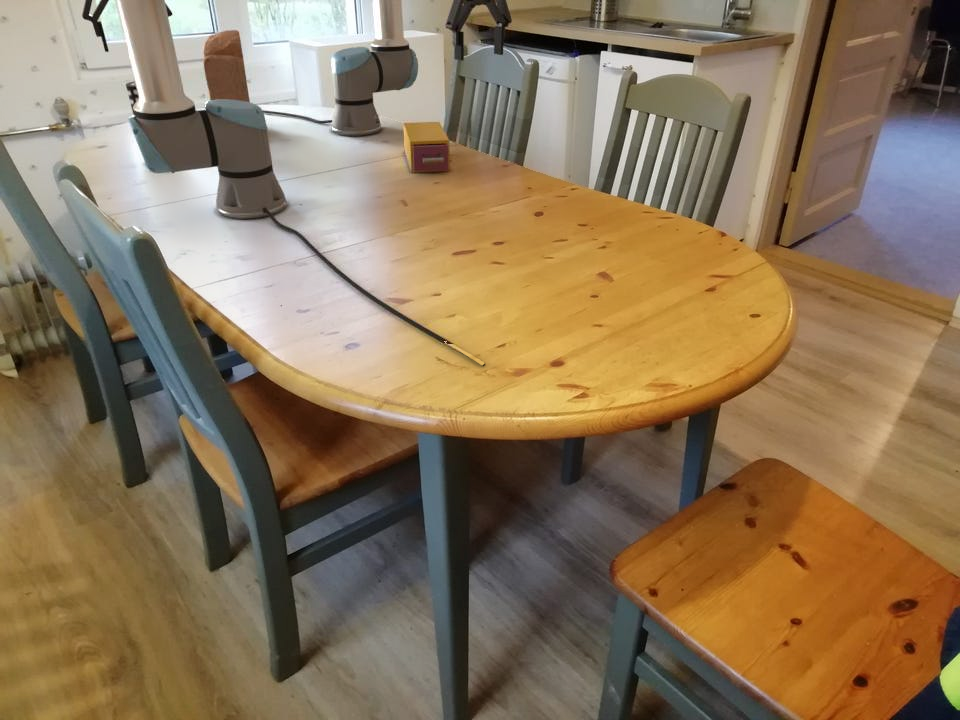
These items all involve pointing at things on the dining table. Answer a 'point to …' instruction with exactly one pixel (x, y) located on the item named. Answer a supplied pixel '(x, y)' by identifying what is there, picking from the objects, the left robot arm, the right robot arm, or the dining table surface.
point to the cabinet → (423, 139)
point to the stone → (225, 67)
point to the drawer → (430, 157)
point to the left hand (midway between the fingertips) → (136, 49)
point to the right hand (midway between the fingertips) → (479, 57)
